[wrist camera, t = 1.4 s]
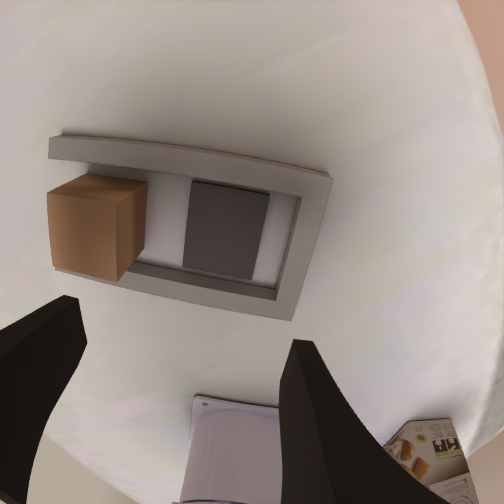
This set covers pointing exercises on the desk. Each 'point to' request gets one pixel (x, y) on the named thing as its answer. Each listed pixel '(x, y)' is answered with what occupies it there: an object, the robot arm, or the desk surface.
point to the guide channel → (226, 170)
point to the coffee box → (434, 459)
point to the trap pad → (224, 229)
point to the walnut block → (97, 225)
